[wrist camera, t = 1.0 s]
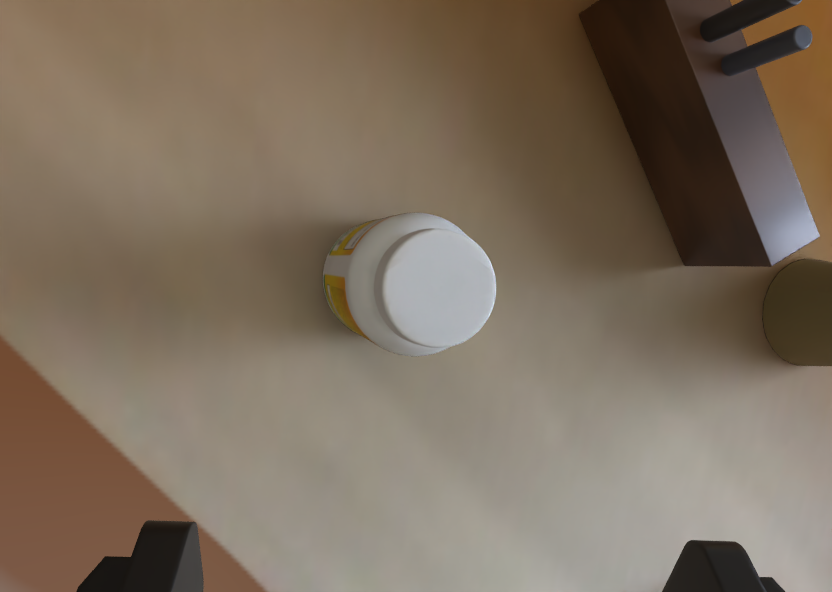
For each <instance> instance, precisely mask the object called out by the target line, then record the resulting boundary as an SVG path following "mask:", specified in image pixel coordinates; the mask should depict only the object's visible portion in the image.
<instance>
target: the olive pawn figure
mask: <svg viewBox="0 0 832 592" xmlns="http://www.w3.org/2000/svg"><path fill="white" fill-rule="evenodd" d="M763 323H764V328H765V334H766V337H767V339H768V341H769V343H770V345H771V346H772V348H773V350H774V351H775V352H776V353H777V354H778V355H779V356H780V357H781V358H782V359H783V360H785V361H787V362H790V363H792V364H794V365H802V366H832V262H828V261H822V260H812V259H803V260H799V261H796V262H793V263H790V264H789V265H788V266H787V267H785V268H784V269H783V270H781V271H780V272H779V273H778V274H777V276H776V277H775V279H774V280H773V282H772V283H771V284H770V286H769V289H768V292H767V295H766V297H765V300H764V308H763Z"/></svg>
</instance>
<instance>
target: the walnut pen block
mask: <svg viewBox="0 0 832 592" xmlns="http://www.w3.org/2000/svg"><path fill="white" fill-rule="evenodd" d="M801 1H802V0H743V1H741V2H739V3H737V4H735V5H733V6H732V5H731V2H730V0H599V1H597V2H596V3H594V4H593V5H591V6H590V7H589V8H587V9H586V10H584V11H583V12H581V13H580V14H579V16H580V18H581V21H582V23H583V25H584V28H585V30H586V33H587V35H588V37H589V40H590V42H591V44H592V47H593V49H594V52H595V54H596V56H597V59H598V61H599V63H600V66H601V68H602V71H603V73H604V75H605V78H606V80H607V82H608V85H609V87H610V90H611V92H612V94H613V97H614V99H615V101H616V104H617V106H618V109H619V111H620V113H621V116H622V118H623V120H624V123H625V125H626V128H627V130H628V132H629V135H630V137H631V139H632V142H633V144H634V147H635V149H636V151H637V154H638V156H639V158H640V161H641V163H642V166H643V168H644V170H645V173H646V175H647V177H648V180H649V182H650V185H651V187H652V189H653V192H654V194H655V196H656V199H657V201H658V204H659V206H660V208H661V211H662V213H663V215H664V218H665V220H666V223H667V225H668V227H669V230H670V232H671V234H672V237H673V239H674V242H675V244H676V246H677V249H678V251H679V253H680V256H681V258H682V261H683V263H684V265H685V266H763V267H771V266H773V265H775V264H776V263H778V262H779V261H781V260H783V259H784V258H786V257H788V256H789V255H791V254H792V253H794V252H796V251H797V250H799V249H801V248H802V247H804V246H805V245H807V244H809V243H810V242H812V241H814V240H815V239H817V238H818V237H820V236H819V233H818V230H817V228H816V225H815V222H814V220H813V217H812V215H811V212H810V209H809V207H808V204H807V201H806V199H805V196H804V194H803V191H802V188H801V186H800V183H799V181H798V178H797V175H796V173H795V170H794V167H793V165H792V162H791V160H790V157H789V154H788V152H787V149H786V146H785V144H784V141H783V139H782V136H781V133H780V131H779V128H778V125H777V123H776V120H775V118H774V115H773V112H772V110H771V107H770V105H769V102H768V99H767V97H766V94H765V91H764V89H763V86H762V84H761V81H760V78H759V76H758V73H757V70H756V68H755V67H758V66H760V65H763V64H766V63H768V62H771V61H774V60H777V59H779V58H782V57H785V56H788V55H790V54H793V53H796V52H798V51H801V50H804V49H806V48H808V47H809V45H810V44H811V42H812V33H811V31H810V29H809V28H808V27H806V26H804V25H799V26H797V27H794V28H792V29H789V30H787V31H784V32H782V33H780V34H777V35H775V36H772V37H770V38H767V39H765V40H763V41H760V42H758V43H755V44H753V45H750V46H748V47H747V44H746V42H745V39H744V36H743V34H742V31H741V29H744V28H746V27H748V26H750V25H753V24H755V23H757V22H759V21H761V20H764V19H766V18H768V17H770V16H773V15H775V14H777V13H779V12H781V11H784V10H786V9H788V8H790V7H793V6H795V5H797V4H799V3H800V2H801Z"/></svg>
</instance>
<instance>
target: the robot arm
mask: <svg viewBox="0 0 832 592" xmlns="http://www.w3.org/2000/svg"><path fill="white" fill-rule="evenodd" d="M77 592H203V571H202V562H201V554H200V546H199V536H198V528H197V524H196V522H182V521H146V522H145V523H144V525H143V527H142V529H141V531H140V533H139V537H138V539H137V542H136V545H135V548H134V550H133V553H132V556H131V557H108V556H107V557H104V558H103V560H102V561H101V562H100V563H99V564H98V565H97V567H96V568H95V569H94V570H93V571H92V572H91V573H90V574H89V575H88V577H87V578H86V579H85V580H84V581H83V582H82V584H81V585H80V586H79V587H78V589H77ZM662 592H785V591H784V590H783V589H782V588H781V587H780V586H779V585H778V584H777V583H776V581H775V580H774V579H773V578H772V577H759V576H758V574H757V572H756V570H755V568H754V566H753V564H752V562H751V560H750V558H749V556H748V554H747V553H746V551H745V550H744V548H743V547H742V546H741V545H740V544H738V543H737V542H730V541H700V540H691V541H689V542H687V543H686V545H685V546H684V548H683V550H682V552H681V554H680V557H679V559H678V561H677V563H676V565H675V567H674V569H673V571H672V573H671V575H670V577H669V579H668V581H667V583H666V585H665V587H664V589H663V591H662Z"/></svg>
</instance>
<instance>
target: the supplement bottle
mask: <svg viewBox="0 0 832 592" xmlns="http://www.w3.org/2000/svg"><path fill="white" fill-rule="evenodd" d="M323 288H324V292H325V296H326V299H327V301H328V304H329V306H330V308H331V310H332V311H333V313H334V314H335V316H336V317H337V318H338V319H339V320H340V321H341V322H342V323H343V324H344V325H345V326H346V327H348V328H349V329H350V330H352V331H354V332H355V333H357V334H359V335H361V336H363V337H364V338H366V339H368V340H370V341H371V342H373V343H374V344H376V345H378V346H380V347H381V348H383V349H385V350H388V351H390V352H393V353H396V354H399V355H405V356H425V355H431V354H435V353H438V352H441V351H443V350H445V349H447V348H449V347H451V346H454V345H457V344H460V343H462V342H464V341H466V340H468V339H470V338H471V337H472V336H473V335H475V334H476V333H477V332H478V331H479V330H480V329H481V328H482V327H483V325H484V324H485V322H486V321H487V319H488V318H489V316H490V314H491V312H492V309H493V306H494V302H495V296H496V279H495V274H494V270H493V267H492V264H491V262H490V260H489V258H488V256H487V255H486V253H485V252H484V251H483V249H482V248H481V247H480V246H479V245H478V244H477V243H476V242H475V241H473V240H472V239H471V238H469V237H468V236H467V235H466V234H465V233H464V232H463V231H462V230H461V229H460V228H458V227H457V226H456V225H454V224H453V223H451V222H449V221H448V220H445V219H443V218H441V217H438V216H435V215H431V214H427V213H404V214H399V215H395V216H390V217H386V218H382V219H379V220H373V221H369V222H366V223H363V224H360V225H358V226H355V227H353V228H352V229H350V230H349V231H347V232H346V233H344V234H343V235H342V236H341V237H340V238H339V239H338V240H337V241H336V242H335V244H334V245H333V247H332V248H331V250H330V251H329V253H328V256H327V258H326V261H325V265H324V270H323Z"/></svg>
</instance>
